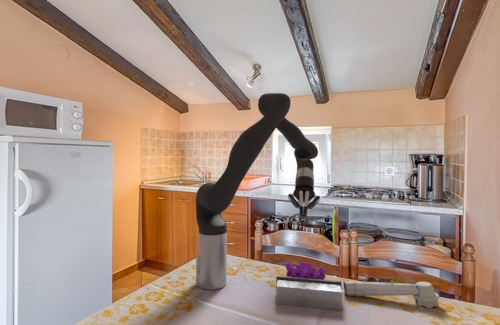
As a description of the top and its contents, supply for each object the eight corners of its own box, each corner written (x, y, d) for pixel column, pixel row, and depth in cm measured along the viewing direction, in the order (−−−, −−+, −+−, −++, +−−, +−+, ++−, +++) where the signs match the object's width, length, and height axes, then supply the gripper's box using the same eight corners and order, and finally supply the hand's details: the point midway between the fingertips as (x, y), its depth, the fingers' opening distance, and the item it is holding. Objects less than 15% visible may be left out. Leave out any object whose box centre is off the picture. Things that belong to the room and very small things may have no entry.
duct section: (274, 303, 81) (274, 283, 81) (276, 293, 86) (276, 275, 86) (343, 310, 77) (343, 290, 77) (341, 300, 83) (341, 281, 83)
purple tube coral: (308, 285, 100) (325, 265, 99) (310, 307, 85) (330, 283, 84) (283, 264, 102) (299, 244, 101) (280, 282, 87) (299, 258, 86)
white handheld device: (342, 278, 90) (432, 276, 83) (345, 299, 89) (435, 299, 83) (343, 285, 84) (439, 283, 78) (346, 307, 84) (442, 308, 78)
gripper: (288, 174, 115) (285, 209, 104) (321, 175, 113) (322, 212, 102) (288, 185, 121) (285, 220, 110) (320, 187, 118) (320, 223, 107)
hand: (303, 216), depth 106 cm, fingers closed
